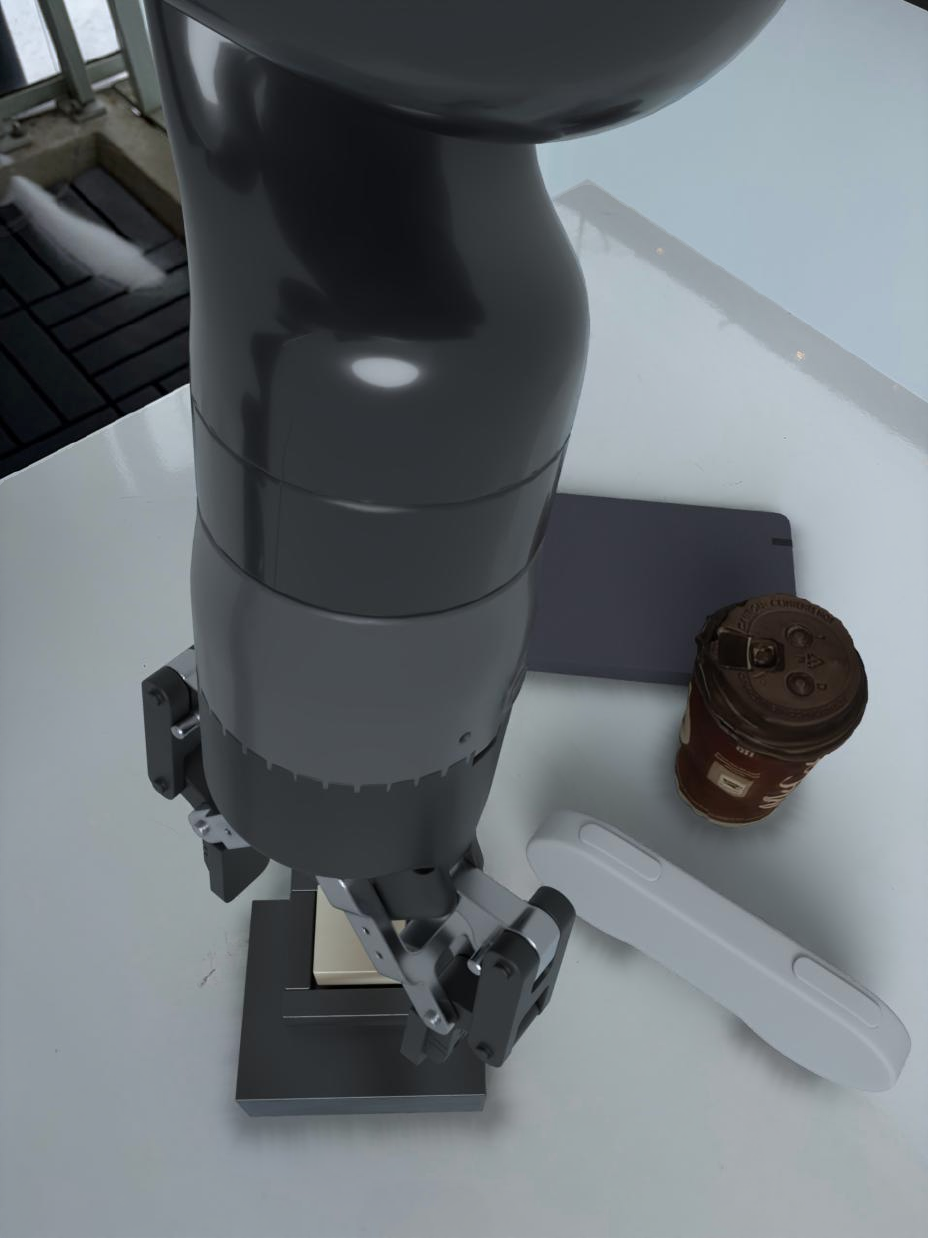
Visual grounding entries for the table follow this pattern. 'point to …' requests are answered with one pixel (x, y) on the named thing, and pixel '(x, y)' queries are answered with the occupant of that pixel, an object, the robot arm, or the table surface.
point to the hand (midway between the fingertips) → (331, 956)
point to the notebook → (647, 583)
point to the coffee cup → (765, 705)
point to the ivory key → (342, 949)
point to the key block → (333, 1032)
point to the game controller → (722, 951)
